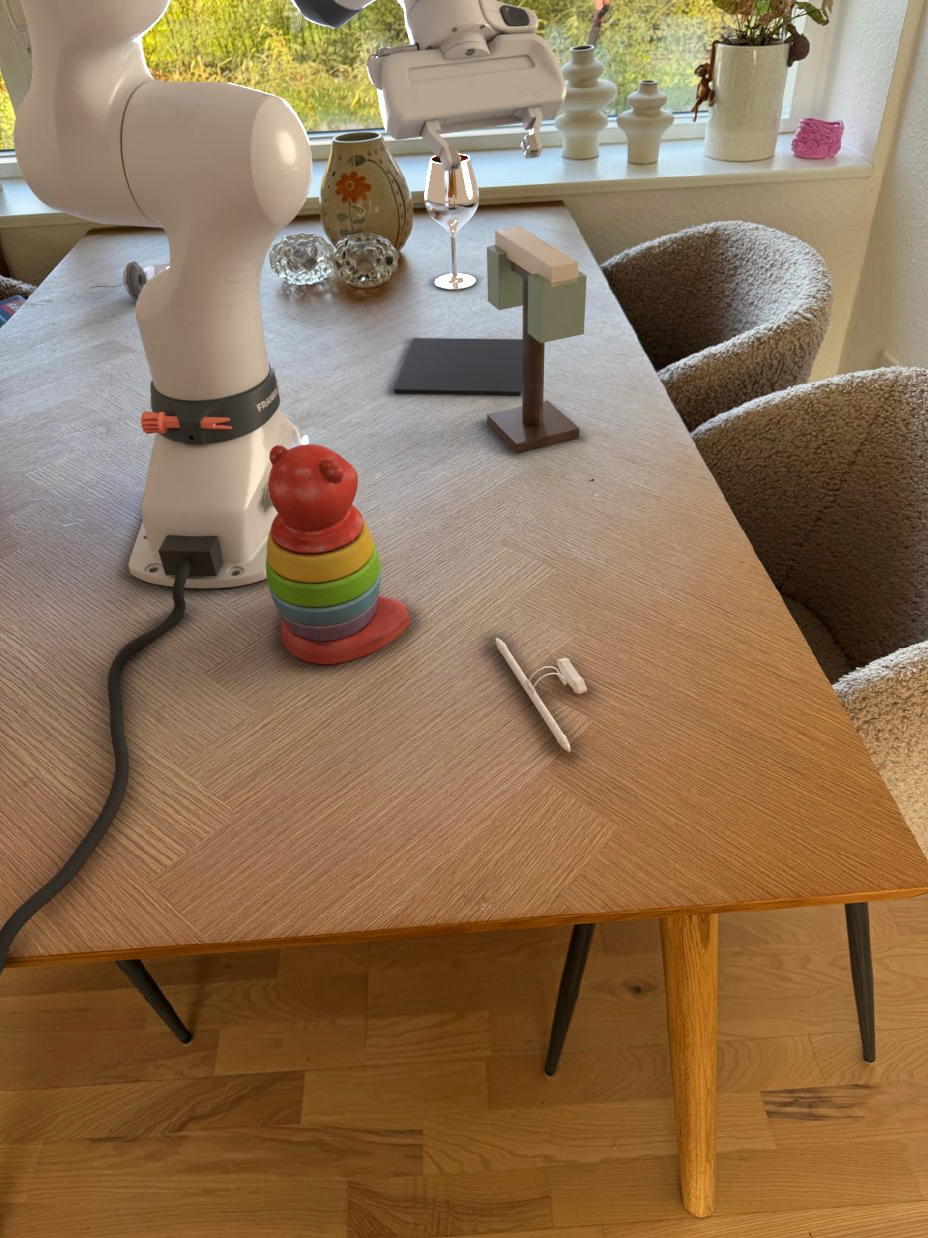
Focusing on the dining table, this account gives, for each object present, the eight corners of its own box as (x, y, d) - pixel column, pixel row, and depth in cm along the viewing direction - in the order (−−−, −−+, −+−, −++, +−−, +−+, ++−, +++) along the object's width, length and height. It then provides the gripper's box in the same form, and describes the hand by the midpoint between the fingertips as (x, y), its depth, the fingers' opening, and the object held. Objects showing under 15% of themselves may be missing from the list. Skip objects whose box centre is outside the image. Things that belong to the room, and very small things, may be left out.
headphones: (202, 309, 137) (243, 283, 155) (195, 269, 135) (238, 247, 152) (90, 309, 139) (143, 283, 156) (82, 269, 136) (137, 247, 153)
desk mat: (520, 395, 115) (520, 391, 114) (393, 392, 116) (393, 389, 116) (528, 342, 127) (528, 339, 126) (413, 341, 129) (413, 337, 128)
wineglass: (421, 279, 147) (413, 156, 136) (467, 269, 150) (463, 148, 138) (442, 295, 142) (435, 168, 130) (489, 285, 144) (487, 160, 133)
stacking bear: (420, 618, 82) (404, 438, 70) (347, 685, 75) (316, 499, 64) (327, 579, 87) (299, 405, 75) (251, 639, 80) (207, 459, 69)
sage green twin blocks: (540, 343, 94) (542, 268, 89) (487, 301, 103) (486, 231, 98) (584, 333, 95) (587, 259, 90) (527, 293, 104) (528, 224, 100)
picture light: (492, 642, 79) (491, 623, 77) (538, 629, 80) (539, 610, 79) (565, 756, 69) (566, 736, 67) (616, 739, 70) (619, 719, 68)
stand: (516, 453, 104) (516, 283, 91) (487, 423, 109) (483, 260, 97) (579, 437, 106) (587, 270, 94) (547, 408, 112) (550, 247, 99)
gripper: (366, 27, 92) (408, 155, 91) (548, 9, 98) (589, 129, 97) (356, 72, 98) (396, 192, 97) (529, 52, 104) (567, 165, 103)
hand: (494, 160), depth 97 cm, fingers open, 8 cm apart
